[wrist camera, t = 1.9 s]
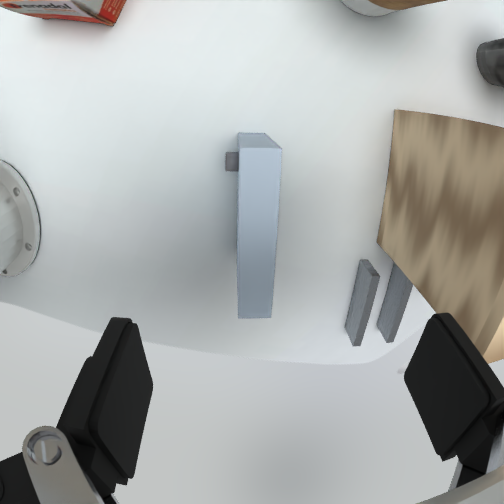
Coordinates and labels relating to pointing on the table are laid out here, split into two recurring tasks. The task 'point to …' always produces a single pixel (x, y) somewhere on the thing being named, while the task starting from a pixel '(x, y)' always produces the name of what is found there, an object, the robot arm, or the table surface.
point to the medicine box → (68, 9)
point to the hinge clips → (365, 298)
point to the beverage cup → (492, 61)
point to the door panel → (256, 220)
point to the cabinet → (449, 219)
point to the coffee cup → (383, 5)
